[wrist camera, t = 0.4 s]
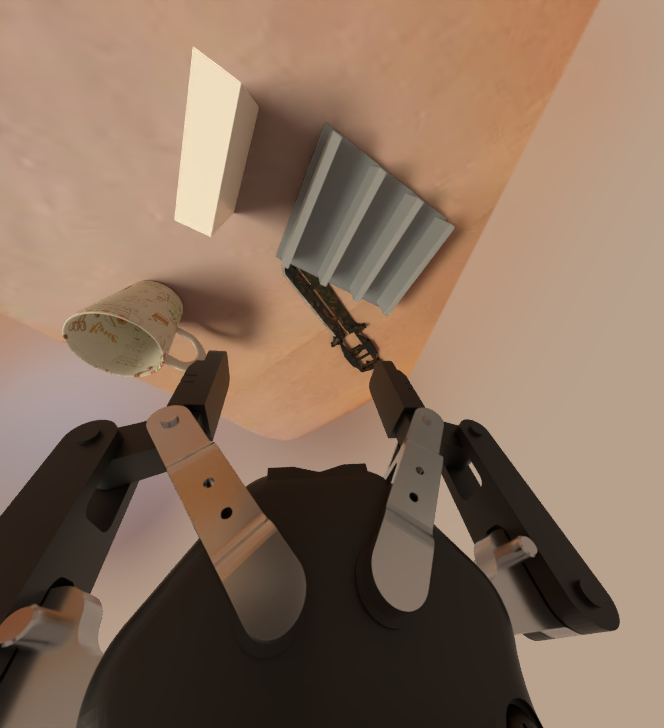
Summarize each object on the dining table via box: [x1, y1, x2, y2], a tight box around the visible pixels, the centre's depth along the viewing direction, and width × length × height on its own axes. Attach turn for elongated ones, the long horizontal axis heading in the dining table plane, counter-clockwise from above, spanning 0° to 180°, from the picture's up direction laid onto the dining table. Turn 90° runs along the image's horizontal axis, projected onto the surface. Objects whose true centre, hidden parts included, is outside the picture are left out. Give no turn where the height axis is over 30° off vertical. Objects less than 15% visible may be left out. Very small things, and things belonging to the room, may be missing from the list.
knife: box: [282, 264, 380, 372], centre depth 36 cm, size 25×6×1 cm, turn 28°
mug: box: [63, 281, 206, 377], centre depth 29 cm, size 8×13×10 cm, turn 38°
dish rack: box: [276, 122, 455, 316], centre depth 27 cm, size 16×13×4 cm
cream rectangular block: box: [174, 47, 259, 237], centre depth 19 cm, size 2×9×10 cm, turn 151°
